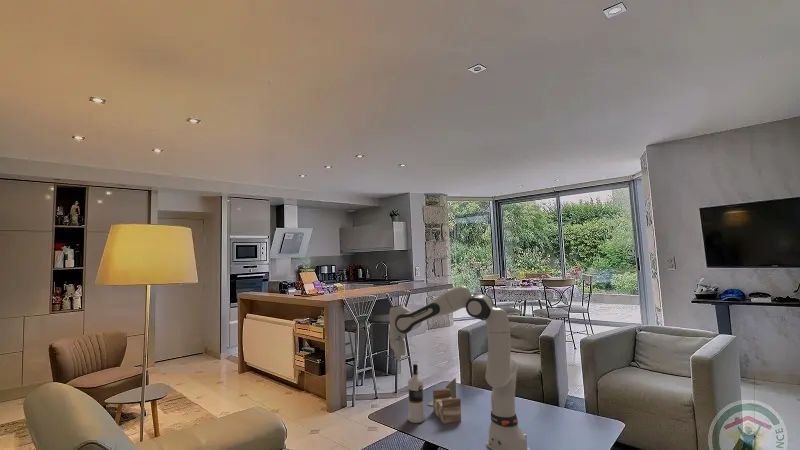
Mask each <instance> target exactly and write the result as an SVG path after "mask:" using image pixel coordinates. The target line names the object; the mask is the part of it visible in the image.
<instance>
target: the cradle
mask: <svg viewBox="0 0 800 450" xmlns="http://www.w3.org/2000/svg"><path fill="white" fill-rule="evenodd" d="M432 397H433V398H432V400H433V406H432V407H433V413H434V414H435V415H436V417H438V418H439V420H440V421H441V422H442V424H450V423H451V424H452V423H458V422H459V423H460V422H462V403H461V401H462V400H461V397H456V398H451V397H450V389H449V388H448V389H446V388H440V389H433V390H432Z"/></svg>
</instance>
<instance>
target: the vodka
mask: <svg viewBox="0 0 800 450" xmlns="http://www.w3.org/2000/svg"><path fill="white" fill-rule="evenodd" d="M418 373H419V371H418V364H417V363H413V364H412V377H411V378H409V379H408V381H407V385H408V386H407V388H408V415H407V420H408V421H409V422H410V423H412V424H420V423H422V422H424V421H425V420H426V419H425V413H424V410H425V409H424V381H423V379H422V378H421V377H420V376H419V375H418Z"/></svg>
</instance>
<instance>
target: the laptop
mask: <svg viewBox="0 0 800 450" xmlns="http://www.w3.org/2000/svg"><path fill="white" fill-rule="evenodd" d="M456 379H457V378H456V377H455V378H453V380H451V381H450V382H449V383H448V384H447V385H446V386H445V389H448V388H449V389H450V397H451V398H457V382H456V381H457V380H456ZM427 406H430V407H433V399H432V400H431V401H429V403H428V404H427Z"/></svg>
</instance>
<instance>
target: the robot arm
mask: <svg viewBox="0 0 800 450" xmlns="http://www.w3.org/2000/svg"><path fill="white" fill-rule="evenodd" d="M464 308H465V312H466V313H467V315H469V316H470V317H472V318H474V319H478V320H480V321H485V323H486V324H485V325H486V333H487V334H486V335H487V360H486V361H487V362H486V371H485V375H484V376H485V380H486V382H487V384H488V385H489V386H490V387H492V390H491V395H490V396H491V397H490V399H491V401H490V402H491V404H490V405H491V411H490V420H491V421H490V424H489V426H488V441H486V442H485V445H486V447H487V448H489V449H490V450H531V449H530V447H529V446H528V443H527V440H528V436H527V434H526V433H524V432H523V431H522V428H521V427H520V425H519V419H518V417H517V412H516V389H517V375H518V374H517V373H518V364H517V362H516V360H515V359H513V358H512V357H511V353H512V339H511V337H512V336H511V327H510V322H509V321H510V320H509V317H508V314H507V311H506V310H505V309H503V308H501V307H495V306H494V300H493V299H492V297H491V296H489V295H487V294H485V293H477V292H476V293H472V291H471V290H470V289H469V288H468V287H467V286H465V285H460V286H458V287H457V286H456V287H454V288H452V289H449V290H447V291H445V292H443V293H442V294H440V295H438V296H437V297H436V298H435V299H433V300H432V301H430V303H427V304H426V305H425V306H422V307H421V308H419V309H417V310H411V309H409V308H407V307H406V306H405V305H404V304H397V305H393V306H391V307H390V308H389V315H388V316H389V317H388V318H389V319H388V320H389V332H388V337H389V344H390V348H391V349H392V350H393V352H394V354H395V360H396V361H397V362H400V361H401V356H403V357H404V356H405V355H406V342H405V340H404V339H406V334H408V333H410V332H412V331H414V330H416V329H418V328H420V327H421V325H422V322H425V321H426V320H429V319H432V318H435V317H440V316H446V315H449V314H452V313H456V312H457V311H459V310H461V309H464Z"/></svg>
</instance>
